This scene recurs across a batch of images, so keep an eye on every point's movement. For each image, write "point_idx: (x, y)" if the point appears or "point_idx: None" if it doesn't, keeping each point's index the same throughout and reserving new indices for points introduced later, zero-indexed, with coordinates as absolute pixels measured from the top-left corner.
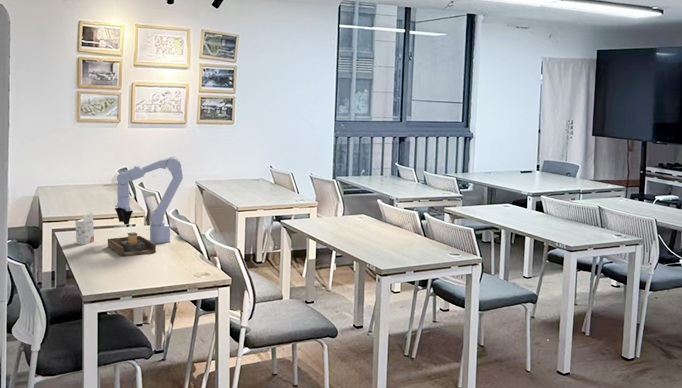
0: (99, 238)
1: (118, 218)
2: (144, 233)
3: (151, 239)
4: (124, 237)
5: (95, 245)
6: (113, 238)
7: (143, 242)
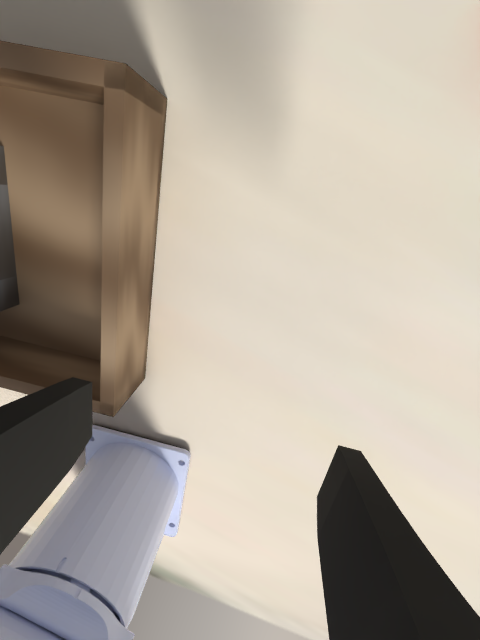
0: None
1: (389, 501)
2: None
3: (115, 454)
4: (107, 278)
5: (314, 3)
6: (112, 147)
7: (18, 357)
